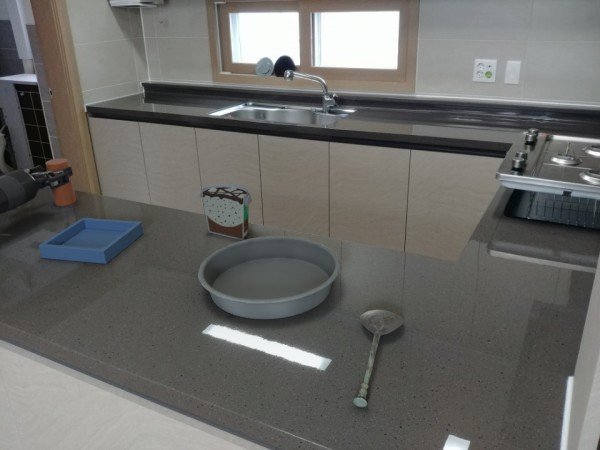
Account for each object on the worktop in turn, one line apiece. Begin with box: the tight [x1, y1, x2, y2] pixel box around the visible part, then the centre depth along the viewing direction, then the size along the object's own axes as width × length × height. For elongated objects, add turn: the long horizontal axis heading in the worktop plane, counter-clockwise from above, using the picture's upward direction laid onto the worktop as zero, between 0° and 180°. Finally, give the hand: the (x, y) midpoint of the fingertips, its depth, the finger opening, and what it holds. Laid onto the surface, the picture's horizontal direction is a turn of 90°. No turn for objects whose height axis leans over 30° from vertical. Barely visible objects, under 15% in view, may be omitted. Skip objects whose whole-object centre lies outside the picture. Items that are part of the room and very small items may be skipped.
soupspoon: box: [352, 309, 404, 408], centre depth 76 cm, size 22×3×7 cm
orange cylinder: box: [45, 158, 77, 207], centre depth 136 cm, size 5×5×11 cm
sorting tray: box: [38, 217, 144, 265], centre depth 113 cm, size 15×15×3 cm
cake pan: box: [197, 235, 341, 320], centre depth 94 cm, size 25×25×4 cm
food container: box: [199, 183, 253, 241], centre depth 116 cm, size 12×6×10 cm, turn 59°
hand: (56, 169), depth 134 cm, fingers open, 8 cm apart
